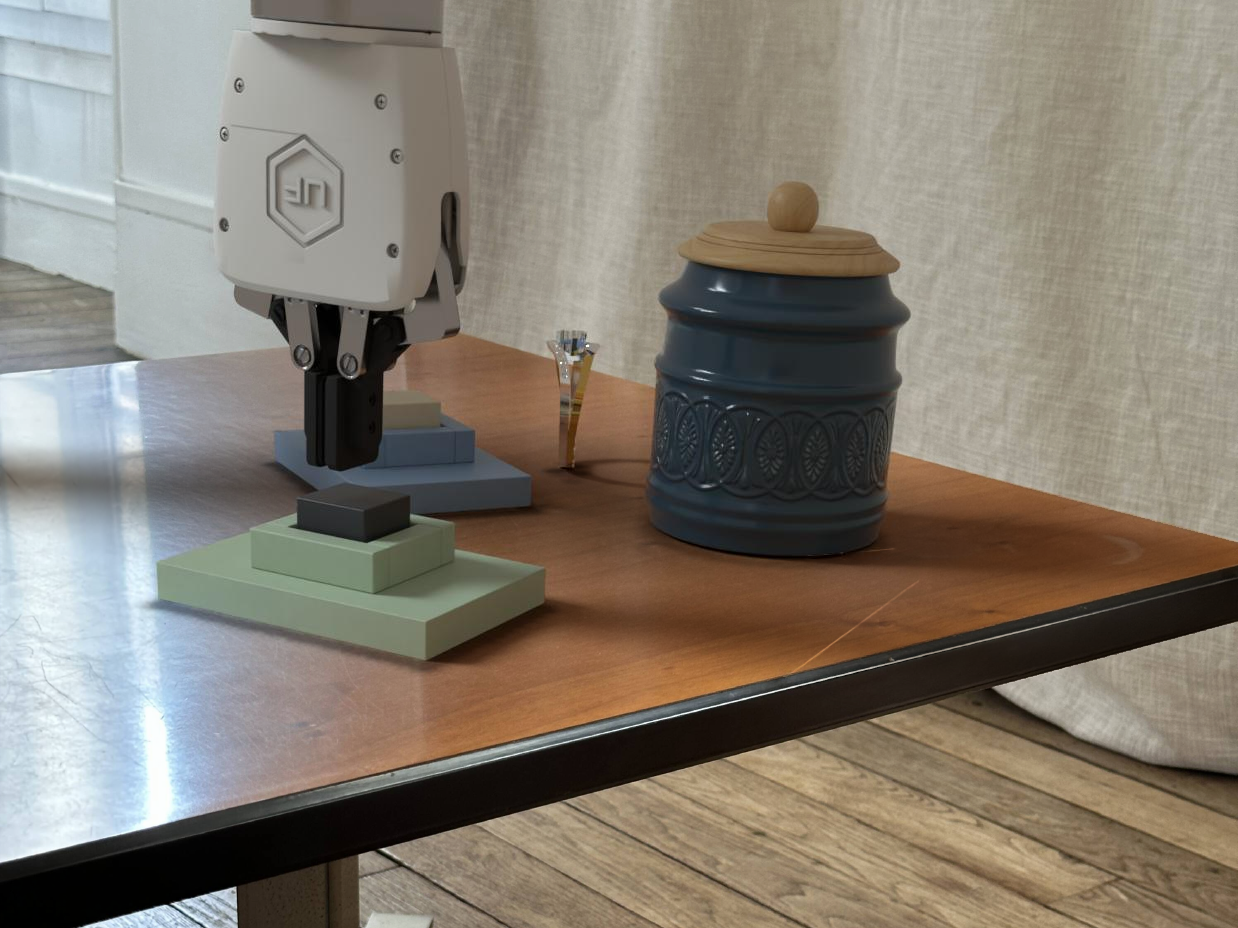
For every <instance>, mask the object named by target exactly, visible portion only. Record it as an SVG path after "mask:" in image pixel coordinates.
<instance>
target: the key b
mask: <svg viewBox="0 0 1238 928" xmlns="http://www.w3.org/2000/svg"><path fill="white" fill-rule="evenodd" d="M441 413H442V403H441V401H439V400H437V399H435V398H433V397H431V396H430V395H427V394H426V393H423V392H421V391H419V390H417V389H405V390H404V389H402V390H399V389H398V390H383V427H382V430H390V429H411V428H431V427H440V426H441Z"/></svg>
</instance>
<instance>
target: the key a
mask: <svg viewBox="0 0 1238 928" xmlns="http://www.w3.org/2000/svg"><path fill="white" fill-rule="evenodd" d="M296 513H297V529H299V530H304V531H309V532H314V533H319V534H323V535H328V536H333V537H338V538H343V539H348V540H353V541H358V542H363V543H369V542H372V541H374V540H377V539H380V538H383V537H385V536H388V535H391V534H393V533H396V532H399V531H401V530H404V529H407V528H410V495H408V494H403V493H398V492H392V491H387V490H382V489H377V488H371V487H366V486H361V485H355V484H350V483H345V482H344V483H341V484H338V485H335V486H331V487H328V488H325V489H322V490H316V491H313V492H309V493H306V494H303V495H299V496H297V497H296Z"/></svg>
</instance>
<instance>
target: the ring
mask: <svg viewBox="0 0 1238 928" xmlns="http://www.w3.org/2000/svg"><path fill="white" fill-rule="evenodd" d="M555 333H556V335H555V339H553V340H546V341H545V343H546V345H547V349H548V350H549V351H550V352H551V354H552V356H553V357H554V360H555V368H556V374H557V375H556V376H557V381H558V387H559V399H560V400H559V427H558V428H559V429H558V430H559V432H558V458H559V459H558V463H559V468H560V469H573V470H574V469H575V465H576V461H575V459H576V453H577V452H576V451H577V440H578V425H579V421H580V416H581V412H582V407H583V404H584V399H585V395H586V390H587V385H588V381H589V376H590V373H591V369H592V366H593V362H594V358H595V355H596V354H597V353H598V351H599V350H600V348H601V345H600V343H598V342H590V341H587V336H588V333H587V331H585V330H571V331H570V330H565V329H560V330H556V332H555ZM569 361H572V368H571V374H570V365H569Z"/></svg>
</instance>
